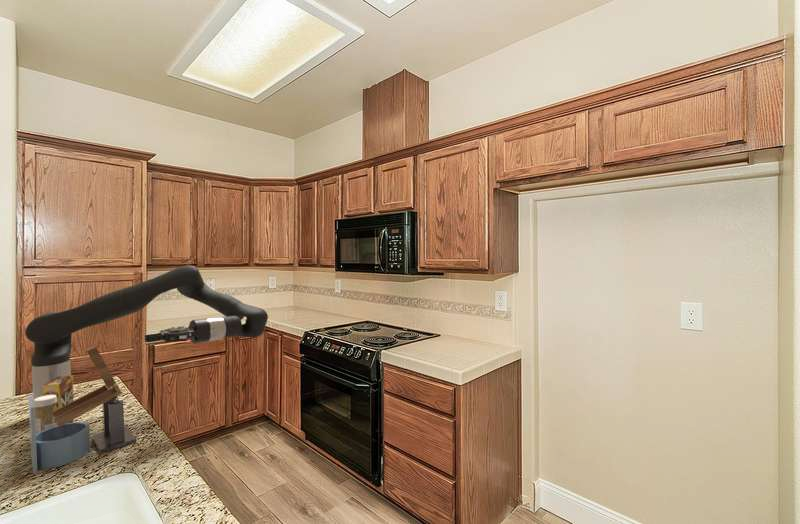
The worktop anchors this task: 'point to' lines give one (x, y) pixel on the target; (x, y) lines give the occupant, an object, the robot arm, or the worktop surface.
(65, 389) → the candy box
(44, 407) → the sprinkles bottle
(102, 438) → the lever stand
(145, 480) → the worktop surface
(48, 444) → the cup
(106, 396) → the lever
